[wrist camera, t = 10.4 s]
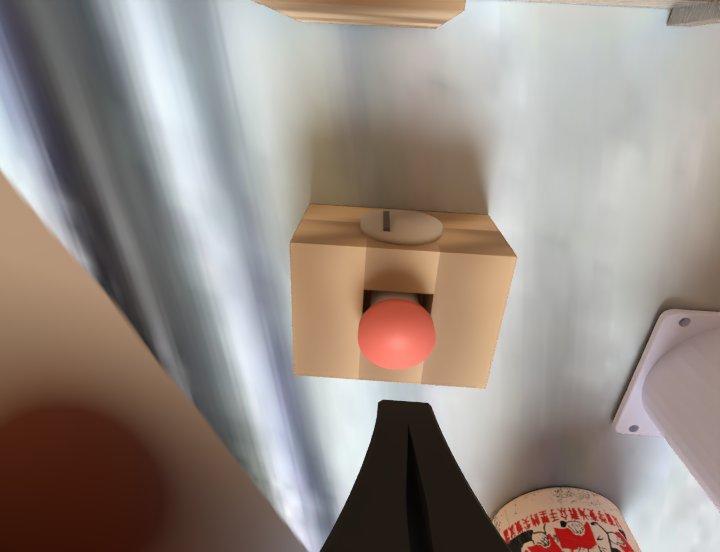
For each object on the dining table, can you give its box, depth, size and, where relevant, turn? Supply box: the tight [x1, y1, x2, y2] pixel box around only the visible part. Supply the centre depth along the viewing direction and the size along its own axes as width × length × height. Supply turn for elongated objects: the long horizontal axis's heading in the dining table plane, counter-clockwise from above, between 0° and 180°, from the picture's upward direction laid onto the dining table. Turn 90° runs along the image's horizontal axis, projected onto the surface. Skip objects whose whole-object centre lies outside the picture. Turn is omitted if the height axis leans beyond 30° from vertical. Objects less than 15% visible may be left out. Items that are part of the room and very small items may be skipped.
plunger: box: [358, 290, 436, 370], centre depth 17 cm, size 3×3×4 cm
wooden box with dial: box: [290, 204, 517, 388], centre depth 18 cm, size 8×6×4 cm
